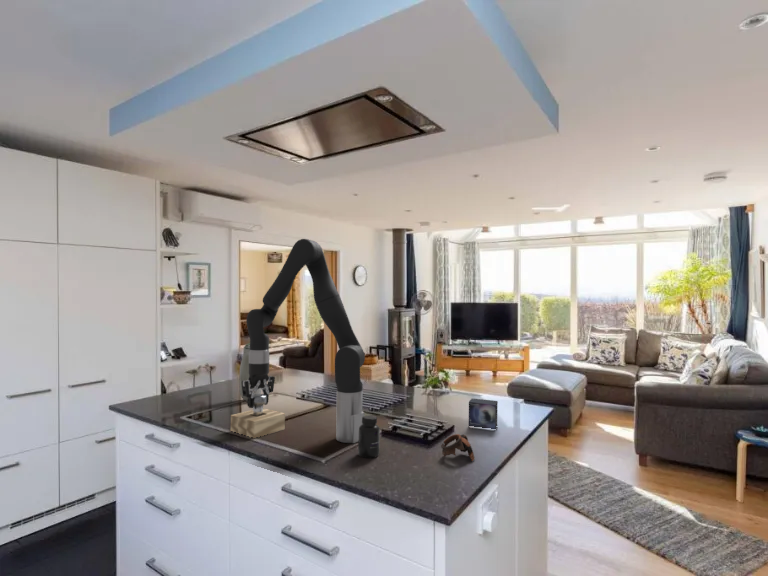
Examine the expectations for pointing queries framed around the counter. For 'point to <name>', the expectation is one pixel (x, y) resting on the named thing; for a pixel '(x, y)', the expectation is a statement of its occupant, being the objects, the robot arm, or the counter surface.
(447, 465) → the counter surface
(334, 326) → the robot arm
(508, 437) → the counter surface
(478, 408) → the small box
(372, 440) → the supplement bottle
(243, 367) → the grey bottle
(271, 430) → the oak block
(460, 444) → the brown curved band
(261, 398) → the steel pin
